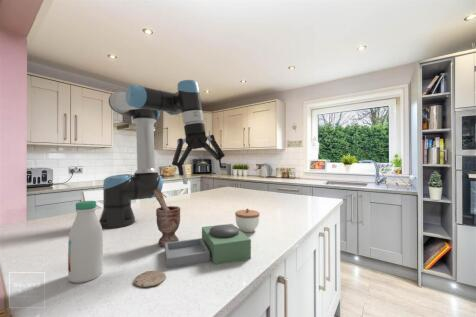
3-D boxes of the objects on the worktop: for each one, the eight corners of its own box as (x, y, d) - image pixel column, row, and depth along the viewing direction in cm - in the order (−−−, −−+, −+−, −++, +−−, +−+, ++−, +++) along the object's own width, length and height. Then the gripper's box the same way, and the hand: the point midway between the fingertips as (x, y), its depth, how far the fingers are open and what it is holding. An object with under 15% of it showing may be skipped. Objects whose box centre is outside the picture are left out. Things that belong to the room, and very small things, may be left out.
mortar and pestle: (143, 246, 81) (143, 190, 80) (157, 237, 89) (157, 187, 89) (173, 248, 78) (173, 191, 78) (184, 239, 87) (184, 188, 87)
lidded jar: (252, 235, 92) (252, 213, 92) (230, 231, 97) (230, 209, 97) (263, 228, 101) (263, 208, 101) (243, 224, 106) (243, 205, 106)
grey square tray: (164, 250, 76) (164, 242, 76) (201, 245, 81) (201, 238, 81) (167, 268, 65) (167, 258, 65) (209, 261, 69) (209, 252, 69)
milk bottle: (109, 269, 64) (109, 199, 64) (88, 284, 56) (88, 205, 56) (84, 268, 64) (84, 198, 64) (60, 283, 57) (60, 204, 57)
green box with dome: (201, 242, 84) (201, 223, 84) (232, 238, 88) (232, 220, 88) (214, 264, 67) (214, 240, 67) (250, 258, 71) (250, 235, 71)
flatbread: (127, 282, 57) (127, 278, 57) (152, 270, 64) (152, 266, 64) (147, 292, 53) (147, 288, 53) (172, 278, 60) (172, 274, 60)
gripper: (162, 124, 73) (172, 188, 74) (227, 119, 86) (235, 173, 87) (157, 128, 79) (167, 186, 81) (219, 122, 92) (226, 173, 94)
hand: (202, 180), depth 84 cm, fingers open, 13 cm apart
